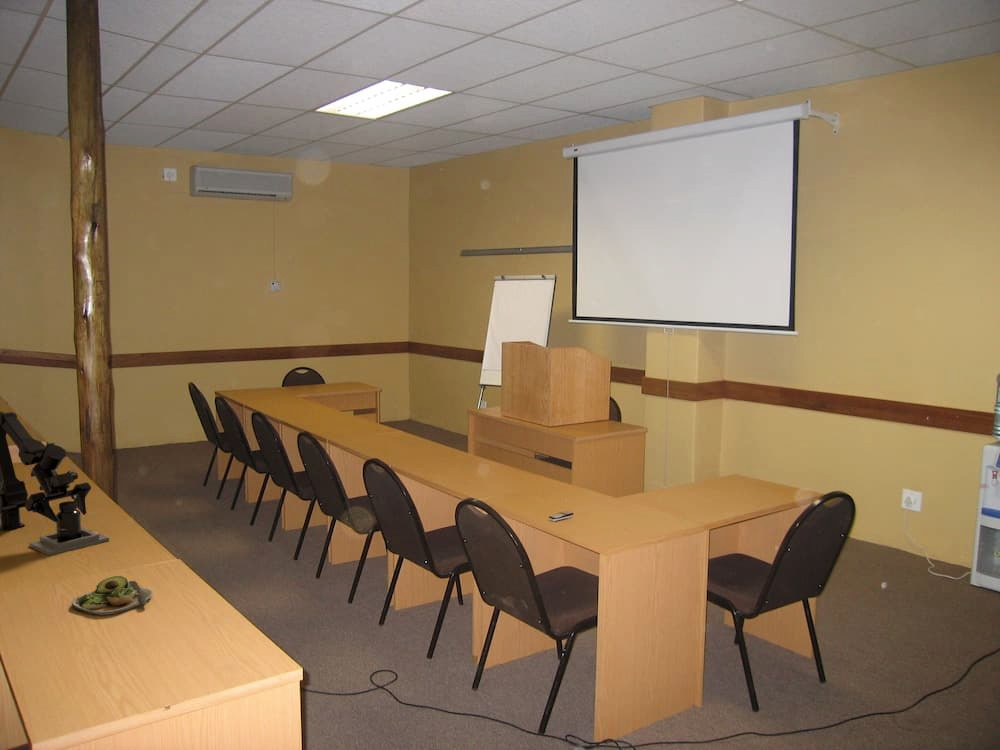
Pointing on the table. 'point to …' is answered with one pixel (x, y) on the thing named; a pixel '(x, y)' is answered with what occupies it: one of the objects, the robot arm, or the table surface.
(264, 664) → the table surface
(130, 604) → the salad plate
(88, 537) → the grey recessed tray
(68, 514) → the supplement bottle
